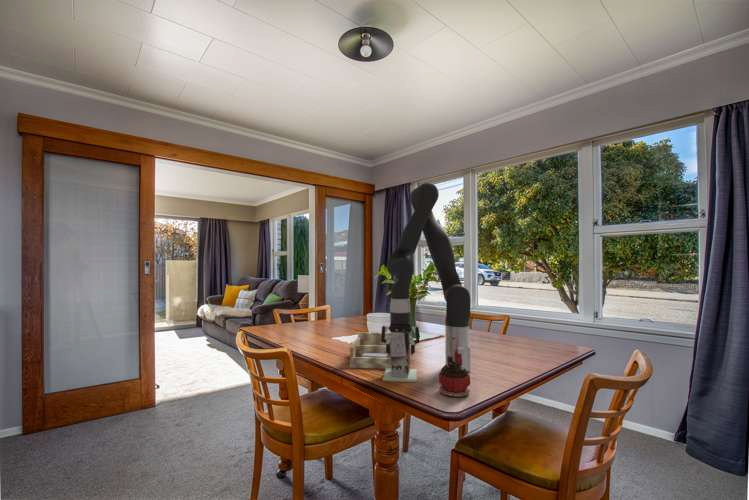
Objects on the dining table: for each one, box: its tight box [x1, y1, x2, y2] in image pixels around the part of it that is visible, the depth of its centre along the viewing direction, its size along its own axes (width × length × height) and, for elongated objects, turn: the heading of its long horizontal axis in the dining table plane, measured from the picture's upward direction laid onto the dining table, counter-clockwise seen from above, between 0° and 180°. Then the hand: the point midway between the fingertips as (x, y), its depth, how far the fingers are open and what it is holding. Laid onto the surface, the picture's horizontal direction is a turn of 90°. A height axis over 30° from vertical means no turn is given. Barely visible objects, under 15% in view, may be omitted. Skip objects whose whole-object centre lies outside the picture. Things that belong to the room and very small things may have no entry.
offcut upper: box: [362, 353, 388, 358], centre depth 146 cm, size 10×4×2 cm, turn 75°
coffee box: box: [390, 331, 411, 378], centre depth 133 cm, size 9×6×16 cm
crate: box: [349, 331, 391, 370], centre depth 152 cm, size 19×21×10 cm
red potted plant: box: [438, 337, 471, 397], centre depth 115 cm, size 11×9×18 cm
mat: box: [382, 368, 418, 383], centre depth 133 cm, size 12×13×1 cm
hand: (400, 354), depth 133 cm, fingers open, 8 cm apart
